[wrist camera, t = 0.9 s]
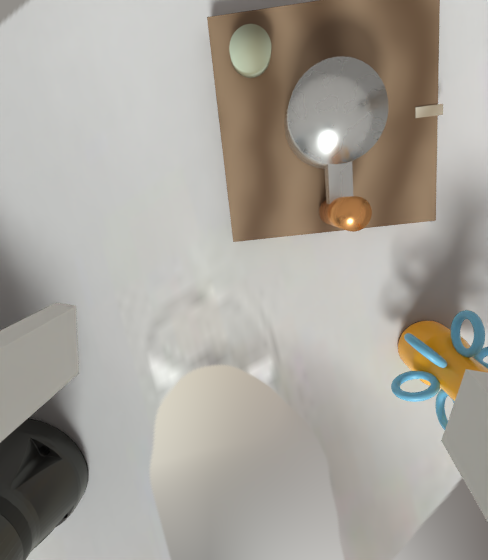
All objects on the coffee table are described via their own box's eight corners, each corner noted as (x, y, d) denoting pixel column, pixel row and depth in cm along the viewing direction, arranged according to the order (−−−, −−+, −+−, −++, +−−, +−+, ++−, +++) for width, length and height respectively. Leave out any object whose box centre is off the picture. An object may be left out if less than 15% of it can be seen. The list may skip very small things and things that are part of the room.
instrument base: (234, 239, 36) (232, 243, 33) (210, 28, 32) (204, 7, 28) (429, 219, 35) (448, 220, 31) (432, -5, 30) (455, -31, 27)
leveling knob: (280, 81, 30) (288, 42, 23) (370, 69, 30) (408, 25, 22) (292, 228, 33) (302, 236, 26) (374, 220, 33) (408, 225, 25)
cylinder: (497, 339, 38) (650, 427, 23) (432, 405, 40) (534, 524, 25) (414, 276, 36) (520, 327, 22) (352, 348, 38) (409, 438, 24)
